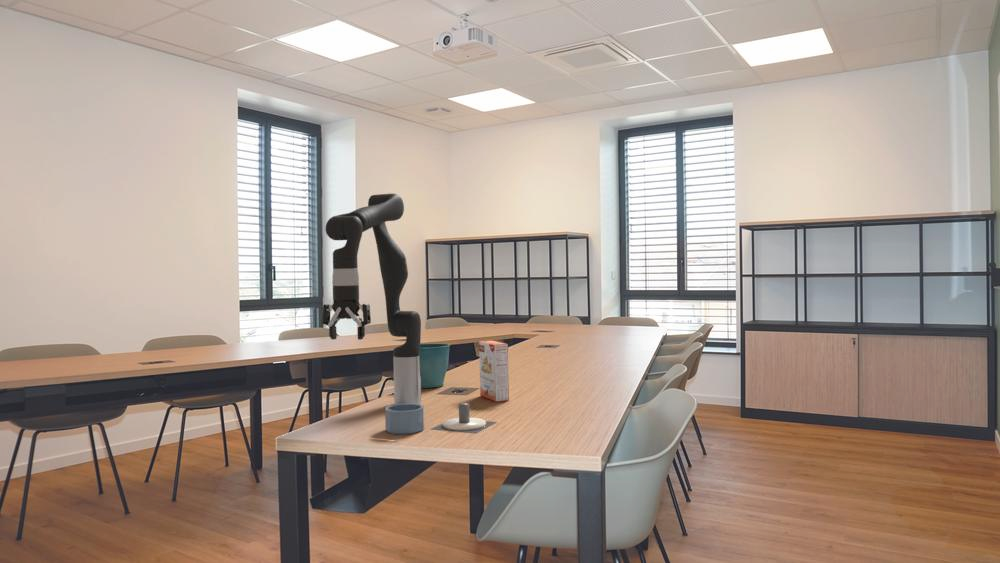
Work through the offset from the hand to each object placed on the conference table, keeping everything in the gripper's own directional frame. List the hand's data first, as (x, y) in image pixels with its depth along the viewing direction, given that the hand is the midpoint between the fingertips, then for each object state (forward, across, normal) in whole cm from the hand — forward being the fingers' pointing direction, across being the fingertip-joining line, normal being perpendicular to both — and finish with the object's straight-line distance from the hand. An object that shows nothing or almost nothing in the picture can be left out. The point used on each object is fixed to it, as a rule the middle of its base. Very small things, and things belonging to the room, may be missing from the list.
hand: (347, 339), depth 190 cm
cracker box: (+28, -30, -56) cm, 70 cm away
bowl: (+27, -16, -3) cm, 32 cm away
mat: (+28, -32, -11) cm, 44 cm away
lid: (+27, -32, -11) cm, 43 cm away
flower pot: (+28, +3, -79) cm, 84 cm away
